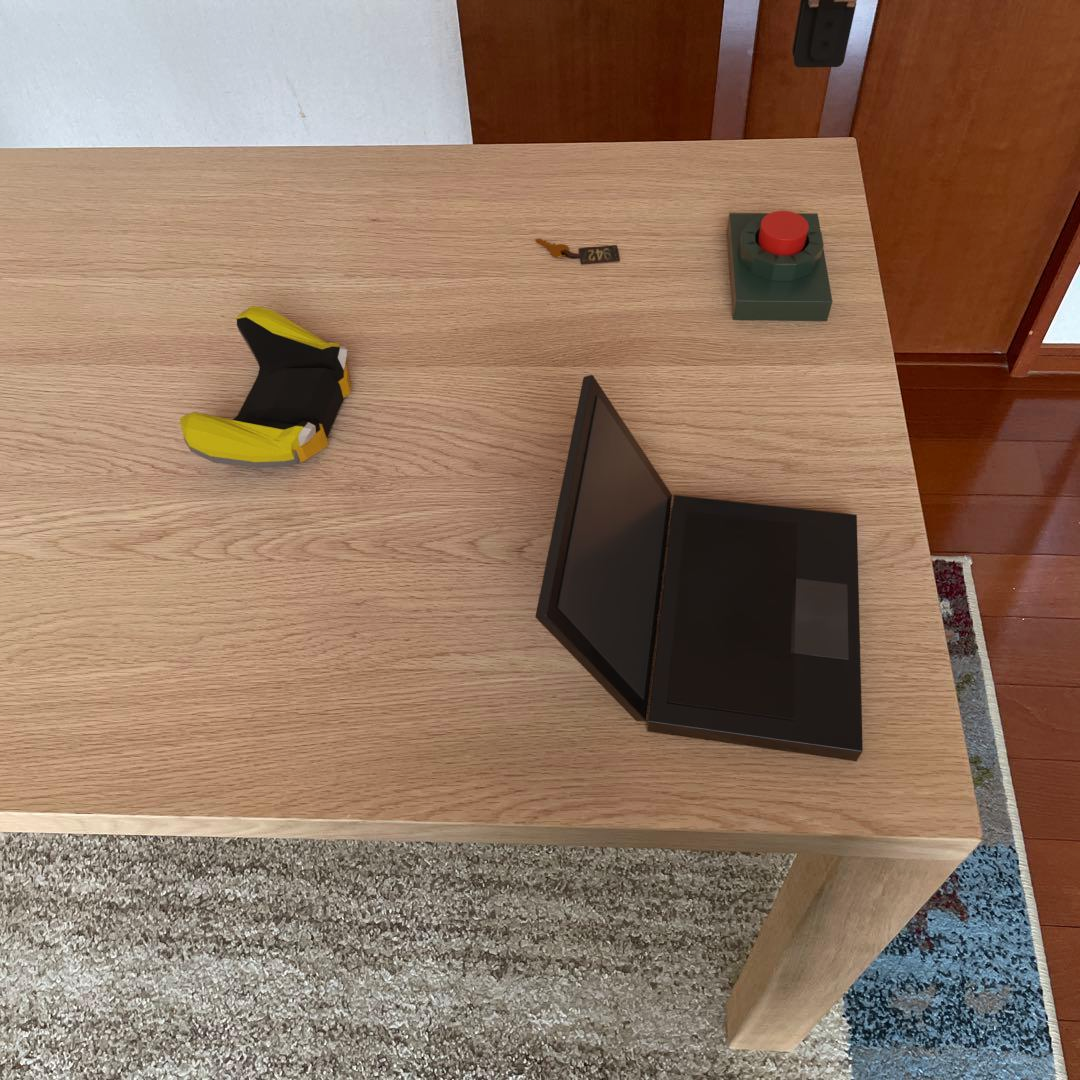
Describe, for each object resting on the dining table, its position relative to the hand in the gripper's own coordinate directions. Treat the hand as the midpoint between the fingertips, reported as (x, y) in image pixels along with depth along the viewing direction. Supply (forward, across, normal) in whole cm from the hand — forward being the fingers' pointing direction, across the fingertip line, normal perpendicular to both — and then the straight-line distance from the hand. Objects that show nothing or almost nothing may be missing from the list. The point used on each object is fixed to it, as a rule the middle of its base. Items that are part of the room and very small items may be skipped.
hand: (816, 60), depth 62 cm
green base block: (+22, +6, -1) cm, 23 cm away
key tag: (+22, +9, +17) cm, 29 cm away
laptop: (+23, -30, +2) cm, 38 cm away
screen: (+15, -29, +12) cm, 35 cm away
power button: (+19, +6, -1) cm, 20 cm away
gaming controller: (+23, -12, +40) cm, 47 cm away
